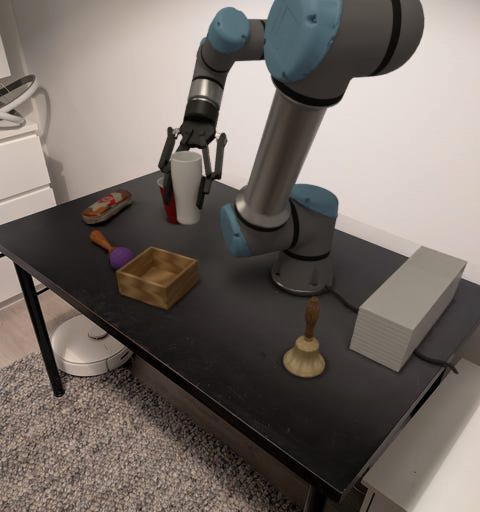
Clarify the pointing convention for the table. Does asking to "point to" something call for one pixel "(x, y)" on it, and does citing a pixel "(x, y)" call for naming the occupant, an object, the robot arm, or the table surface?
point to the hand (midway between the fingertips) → (182, 205)
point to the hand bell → (306, 347)
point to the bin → (158, 277)
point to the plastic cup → (170, 209)
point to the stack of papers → (406, 307)
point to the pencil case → (107, 207)
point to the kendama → (113, 251)
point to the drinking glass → (186, 185)
